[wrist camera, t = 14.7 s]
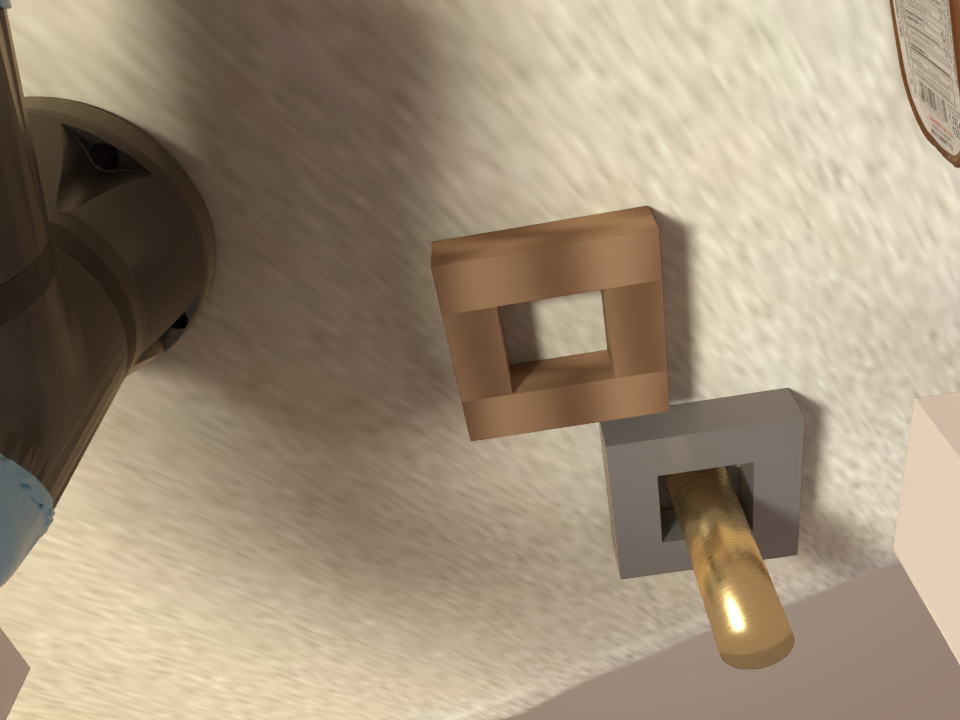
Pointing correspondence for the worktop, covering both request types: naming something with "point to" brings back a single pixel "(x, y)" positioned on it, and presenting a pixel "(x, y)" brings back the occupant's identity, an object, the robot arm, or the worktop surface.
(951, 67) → the tin
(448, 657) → the worktop surface
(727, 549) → the lock pin
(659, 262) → the brown wooden square frame
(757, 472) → the plate
